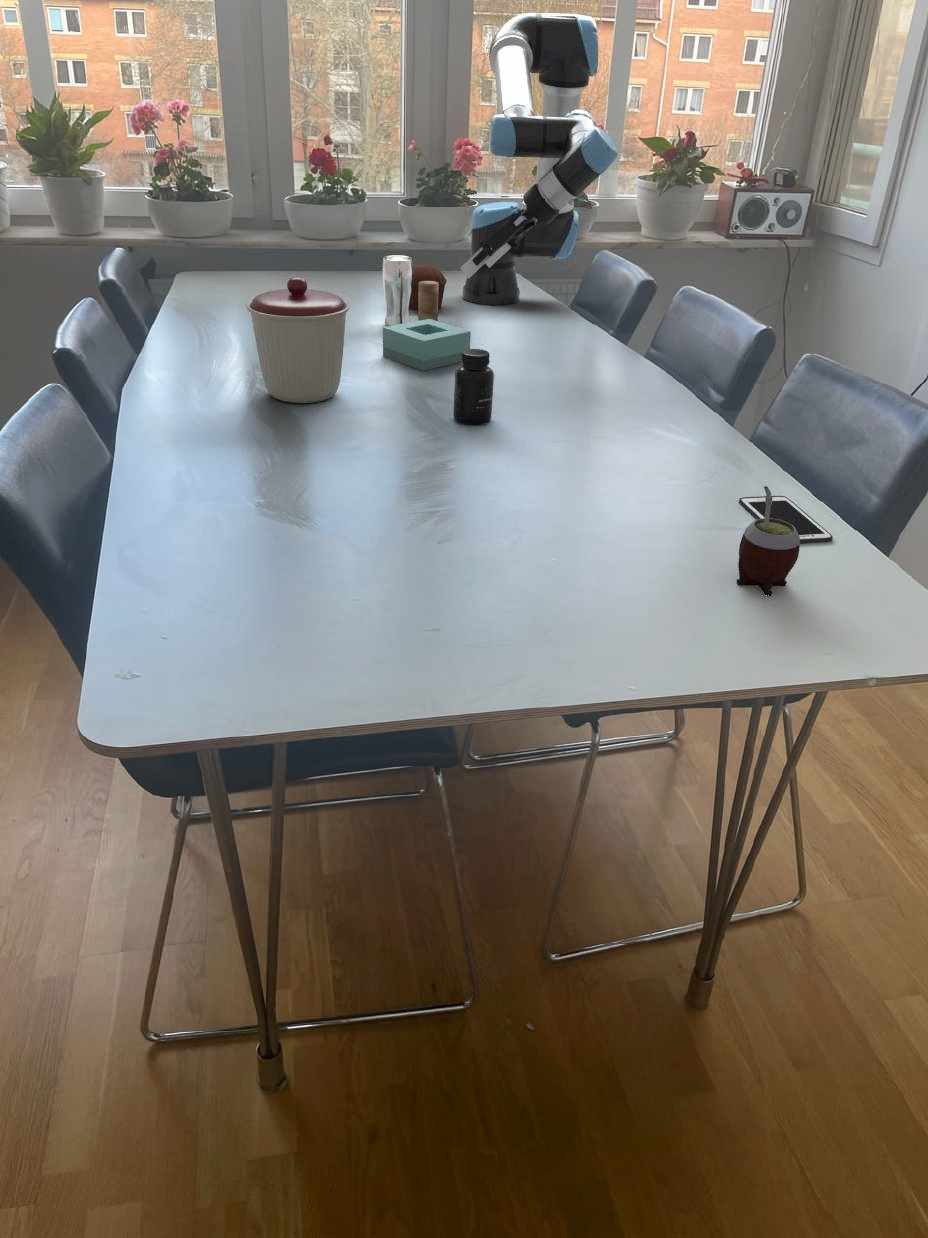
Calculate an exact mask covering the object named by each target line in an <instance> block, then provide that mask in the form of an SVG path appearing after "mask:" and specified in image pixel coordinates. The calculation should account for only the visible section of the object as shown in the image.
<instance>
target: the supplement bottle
mask: <svg viewBox="0 0 928 1238" xmlns="http://www.w3.org/2000/svg"><path fill="white" fill-rule="evenodd" d="M460 363H461V364H460V366H458V367H457V368H456V369H455V372H454V390H453V409H452V410H453V411H452V413H453V414H452V415H453V419H454V421H456V422H458V423H460V424H462V425H468V426H469V425H470V426H480V425H485V424H488V423H489V422H490V421H491V419H492V413H493V411H492V410H493V399H494V383H495V382H494V381H495V373H494V370H493V368H491V367H489V365H490V352H489V351H487V350H485V349H480V348H470V349H466V350H463V351H462V358H461V362H460Z"/></svg>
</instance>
